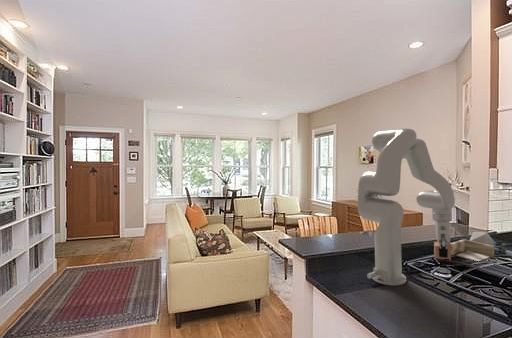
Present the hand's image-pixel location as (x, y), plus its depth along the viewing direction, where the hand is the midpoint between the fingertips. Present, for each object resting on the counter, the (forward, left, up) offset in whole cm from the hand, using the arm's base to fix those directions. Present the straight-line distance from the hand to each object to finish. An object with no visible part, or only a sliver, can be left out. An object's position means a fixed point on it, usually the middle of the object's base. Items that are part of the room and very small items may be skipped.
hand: (442, 253), depth 133 cm
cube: (0, 0, -2) cm, 2 cm away
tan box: (+11, -6, -2) cm, 13 cm away
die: (+24, -4, -2) cm, 24 cm away
